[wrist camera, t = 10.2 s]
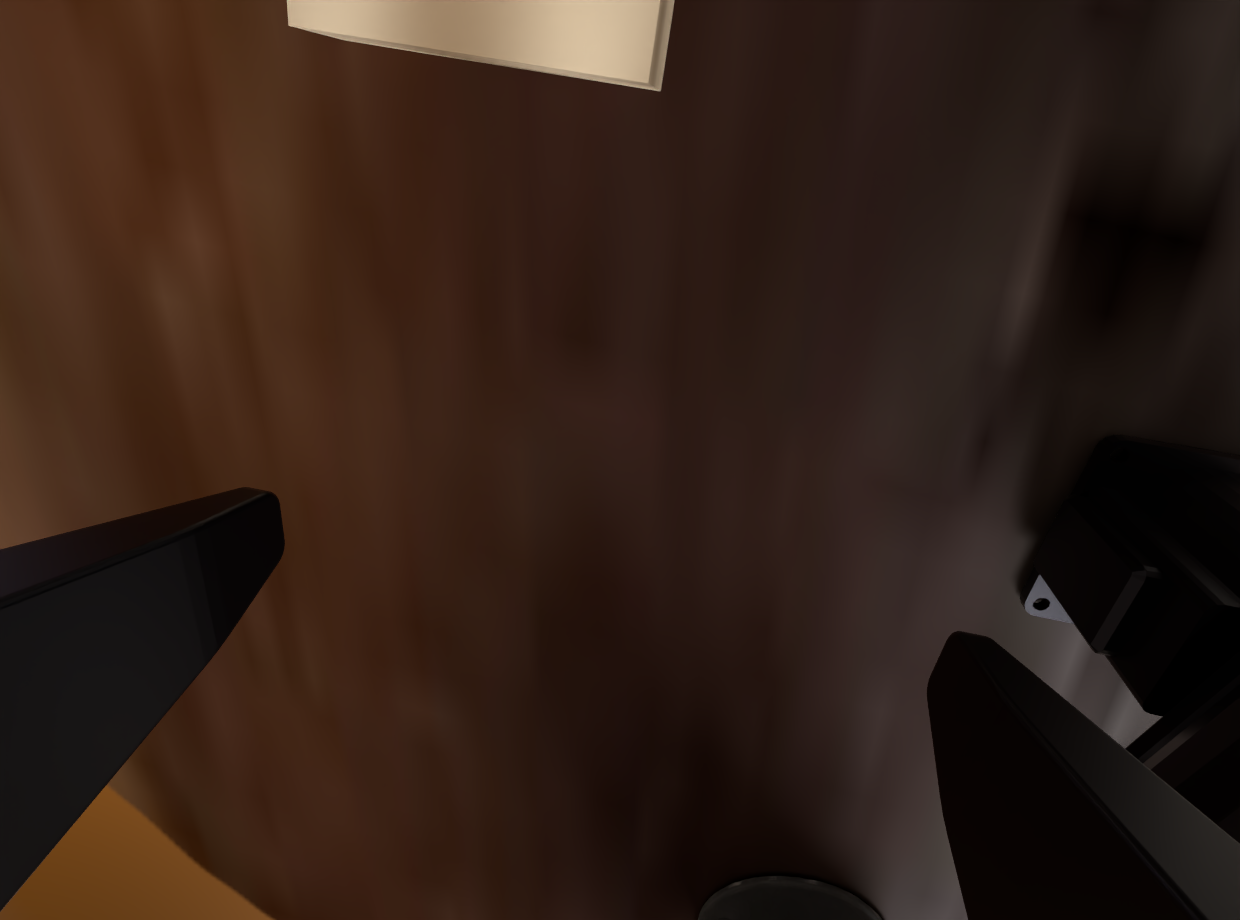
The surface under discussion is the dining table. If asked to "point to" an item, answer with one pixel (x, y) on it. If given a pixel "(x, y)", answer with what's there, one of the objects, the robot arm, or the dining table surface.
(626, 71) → the block
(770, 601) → the dining table surface
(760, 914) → the milk frother
